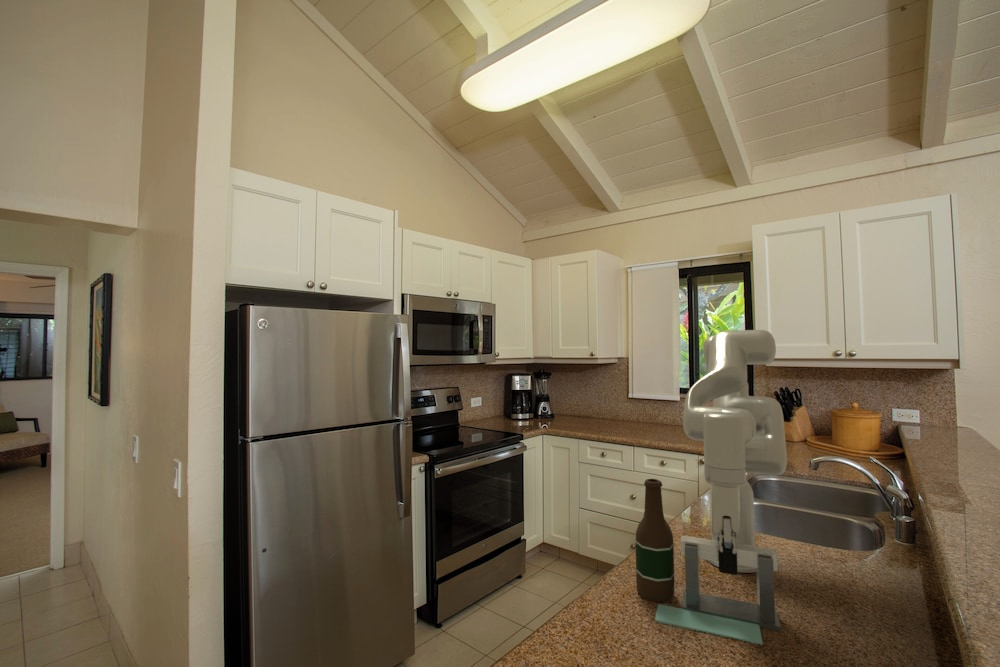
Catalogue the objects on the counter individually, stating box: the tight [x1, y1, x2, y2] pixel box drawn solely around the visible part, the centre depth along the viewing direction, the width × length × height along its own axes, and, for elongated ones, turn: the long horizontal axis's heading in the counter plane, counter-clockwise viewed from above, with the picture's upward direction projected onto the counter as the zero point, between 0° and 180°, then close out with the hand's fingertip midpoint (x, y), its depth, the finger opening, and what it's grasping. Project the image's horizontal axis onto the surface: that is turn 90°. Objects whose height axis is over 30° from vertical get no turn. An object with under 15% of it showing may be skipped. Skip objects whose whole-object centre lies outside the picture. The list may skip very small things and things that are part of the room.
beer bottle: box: [635, 478, 675, 604], centre depth 99 cm, size 8×8×24 cm
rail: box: [680, 535, 779, 572], centre depth 92 cm, size 3×17×3 cm, turn 66°
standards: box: [681, 545, 782, 632], centre depth 91 cm, size 7×17×12 cm, turn 66°
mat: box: [654, 603, 763, 646], centre depth 87 cm, size 6×18×1 cm, turn 66°
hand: (727, 564), depth 92 cm, fingers open, 6 cm apart
